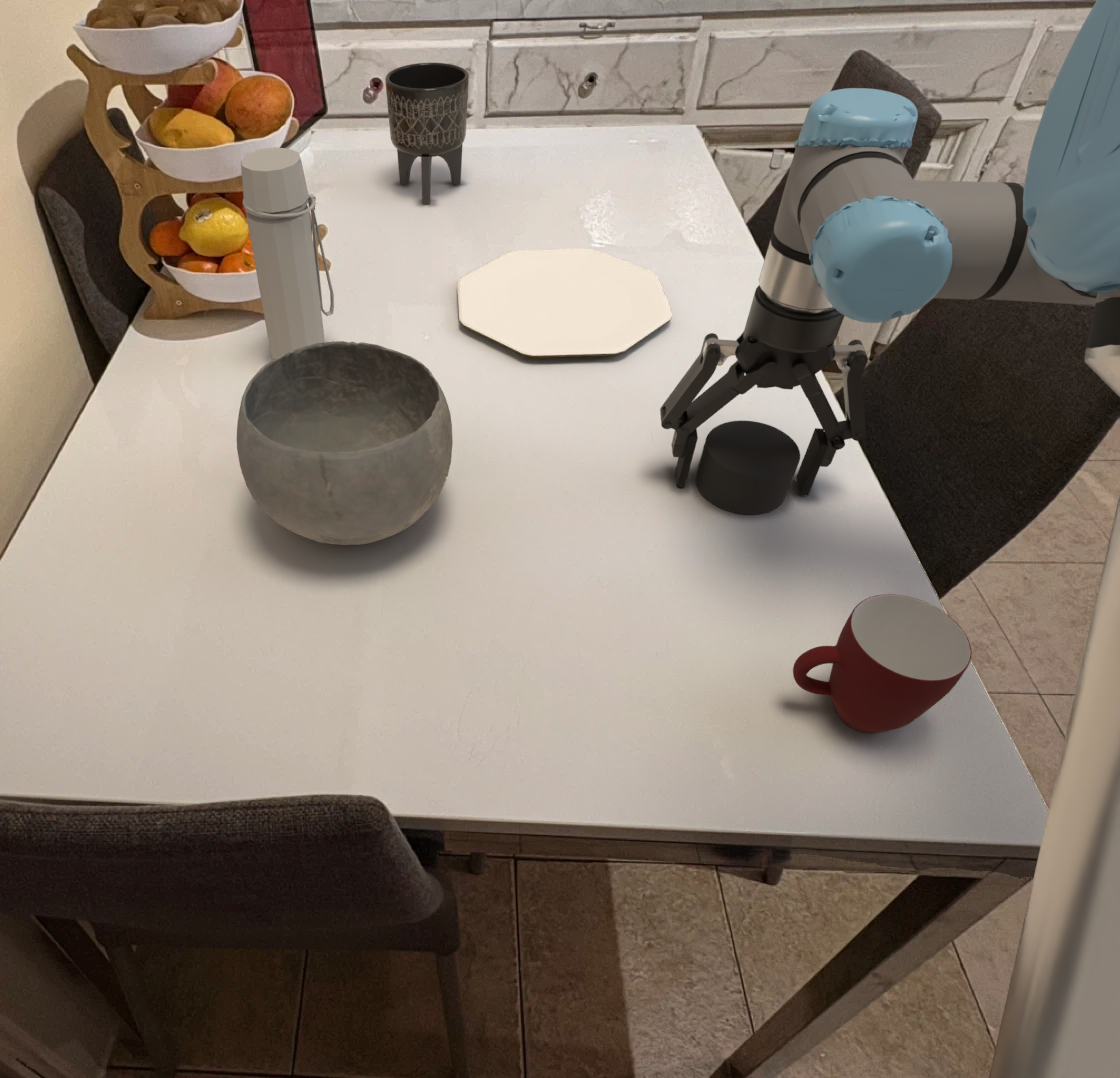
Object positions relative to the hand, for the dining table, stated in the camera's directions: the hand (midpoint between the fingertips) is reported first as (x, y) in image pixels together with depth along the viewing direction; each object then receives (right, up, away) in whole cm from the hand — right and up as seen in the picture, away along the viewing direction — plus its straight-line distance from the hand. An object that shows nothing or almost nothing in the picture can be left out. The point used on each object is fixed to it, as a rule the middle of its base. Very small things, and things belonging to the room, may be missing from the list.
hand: (740, 482), depth 87 cm
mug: (+1, -20, -19) cm, 28 cm away
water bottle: (-47, +17, +21) cm, 55 cm away
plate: (-14, +25, +27) cm, 39 cm away
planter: (-30, +53, +55) cm, 82 cm away
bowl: (-40, -3, 0) cm, 40 cm away
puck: (0, 0, 0) cm, 0 cm away
